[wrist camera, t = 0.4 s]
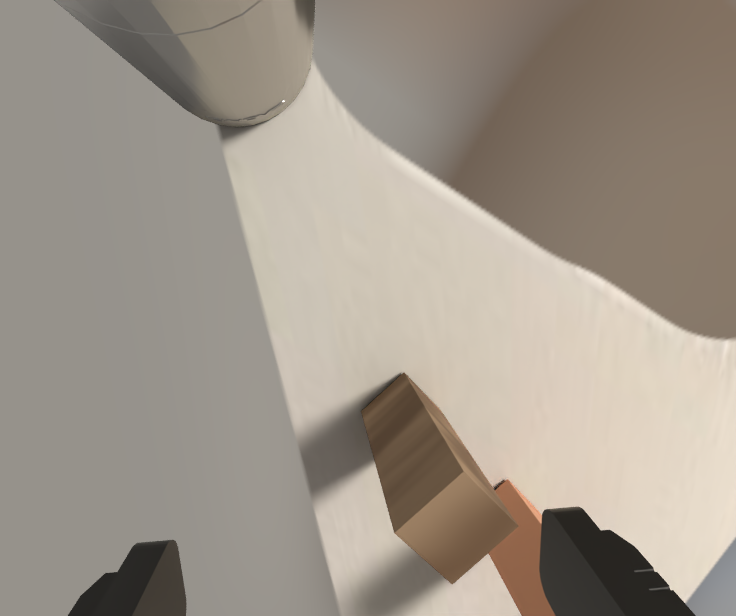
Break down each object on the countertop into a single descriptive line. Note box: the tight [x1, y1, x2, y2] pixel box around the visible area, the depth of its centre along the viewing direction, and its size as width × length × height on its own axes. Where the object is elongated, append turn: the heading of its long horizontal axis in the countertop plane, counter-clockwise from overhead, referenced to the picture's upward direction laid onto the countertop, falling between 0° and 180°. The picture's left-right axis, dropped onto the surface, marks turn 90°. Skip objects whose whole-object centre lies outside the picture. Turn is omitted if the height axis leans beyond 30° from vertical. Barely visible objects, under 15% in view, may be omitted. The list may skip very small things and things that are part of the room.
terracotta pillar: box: [489, 479, 555, 616], centre depth 28 cm, size 4×4×12 cm
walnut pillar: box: [361, 373, 519, 584], centre depth 25 cm, size 4×4×12 cm
